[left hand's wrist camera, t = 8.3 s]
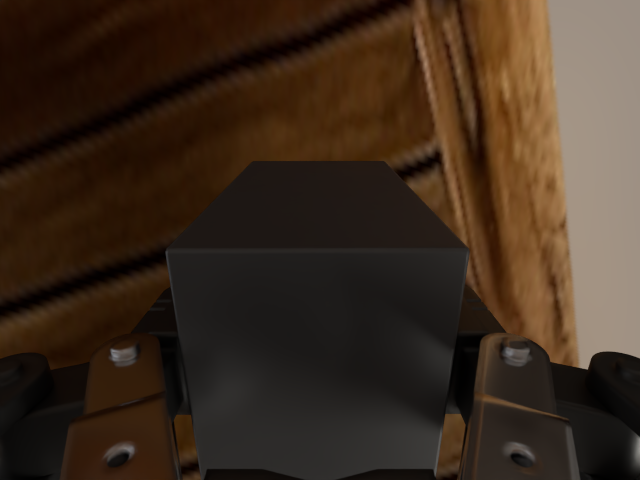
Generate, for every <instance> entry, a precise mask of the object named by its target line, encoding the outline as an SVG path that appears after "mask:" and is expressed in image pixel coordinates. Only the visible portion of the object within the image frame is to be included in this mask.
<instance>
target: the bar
mask: <svg viewBox="0 0 640 480" xmlns="http://www.w3.org/2000/svg"><path fill="white" fill-rule="evenodd" d="M166 259H167V265H168V272H169V278H170V284H171V291H172V297H173V303H174V310H175V316H176V322H177V329H178V335H179V341H180V348H181V354H182V360H183V367H184V373H185V379H186V386H187V392H188V398H189V405H190V411H191V417H192V424H193V430H194V436H195V443H196V449H197V455H198V462H199V468H200V474H201V480H204V477H205V474H206V471H207V469H265V470H269V471H273V472H277V473H280V474H284V475H288V476H292V477H296V478H300V479H304V480H336V479H340V478H344V477H348V476H352V475H356V474H360V473H363V472H367V471H371V470H375V469H433V471H434V474H435V477H436V471H437V464H438V458H439V451H440V444H441V438H442V431H443V424H444V418H445V411H446V405H447V398H448V391H449V385H450V378H451V372H452V365H453V358H454V352H455V345H456V339H457V332H458V325H459V319H460V312H461V305H462V299H463V292H464V286H465V279H466V272H467V266H468V259H469V248H468V247H467V246H466V245H465V244H464V243H463V242H462V241H461V240H460V239H459V238H458V237H457V236H456V235H455V234H454V233H453V232H452V231H451V230H450V229H449V228H448V227H447V226H446V225H445V223H444V222H443V221H442V220H441V219H440V218H439V217H438V216H437V215H436V214H435V213H434V212H433V211H432V210H431V209H430V208H429V207H428V206H427V205H426V204H425V203H424V202H423V201H422V200H421V199H420V198H419V197H418V196H417V195H416V194H415V192H414V191H413V190H412V189H411V188H410V187H409V186H408V185H407V184H406V183H405V182H404V181H403V180H402V179H401V178H400V177H399V176H398V175H397V174H396V173H395V172H394V171H393V170H392V169H391V168H390V167H389V166H388V165H387V164H386V162H384V161H253V162H251V164H250V165H249V166H248V167H247V168H246V169H245V170H244V171H243V172H242V173H241V174H240V175H239V176H238V177H237V178H236V179H235V180H234V181H233V182H232V183H231V184H230V185H229V186H228V187H227V188H226V189H225V190H224V191H223V192H222V193H221V194H220V195H219V196H218V197H217V198H216V199H215V200H214V201H213V202H212V203H211V204H210V205H209V206H208V207H207V208H206V209H205V210H204V211H203V212H202V213H201V214H200V215H199V216H198V217H197V218H196V219H195V220H194V221H193V222H192V223H191V224H190V225H189V227H188V228H187V229H186V230H185V231H184V232H183V233H182V234H181V235H180V236H179V237H178V238H177V239H176V240H175V241H174V242H173V243H172V244H171V245H170V246H169V247H168V248H167V249H166Z"/></svg>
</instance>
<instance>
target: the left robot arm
mask: <svg viewBox="0 0 640 480" xmlns="http://www.w3.org/2000/svg"><path fill="white" fill-rule="evenodd" d="M445 414H461V415H462V417H463V420H464V422H465V424H466V426H465V431H464V438H463V445H462V451H461V458H460V465H459V472H458V479H457V480H640V358H637V357H634V356H631V355H628V354H623V353H618V352H600V353H597V354H595V355H594V356H593V357H592V358H591V361H590V365H589V368H588V370H587V369H582V368H577V367H572V366H567V365H562V364H557V363H552V362H550V358H549V356H548V354H547V352H546V351H545V350H544V349H543V348H542V347H541V346H539V345H538V344H536V343H535V342H533V341H531V340H529V339H527V338H524V337H522V336H519V335H515V334H510V333H506V331H505V330H504V329H503V328H502V326H501V325H500V324H499V322H498V321H497V320H496V319H495V317H494V316H493V315H492V313H491V312H490V311H489V310H487V307H486V306H485V304H484V303H483V302H481V299H480V298H479V297H478V295H477V294H476V293H475V292H474V290H472V289H471V288H469V287H467V286H466V285H465V286H464V292H463V299H462V305H461V312H460V319H459V325H458V332H457V339H456V345H455V352H454V358H453V365H452V372H451V378H450V385H449V391H448V398H447V405H446V411H445ZM176 415H191V411H190V405H189V398H188V392H187V386H186V379H185V373H184V367H183V360H182V354H181V348H180V341H179V335H178V329H177V322H176V316H175V310H174V303H173V297H172V291H171V287H170V288H168V289H166V290H165V291H164V292H163V293H162V294H161V295H160V297H159V298H158V299H157V300H156V303H154V304H153V306H152V307H151V308H150V311H148V312H147V313H146V314H145V316H144V317H143V318H142V320H141V321H140V322H139V323H138V325H137V326H136V327H135V328H134V330H133V331H132V332H131V333H130V334H125V335H121V336H118V337H116V338H113V339H111V340H109V341H107V342H105V343H104V344H102V345H101V346H99V347H98V348H97V349H96V350H95V351H94V352H93V354H92V356H91V358H90V362H88V363H84V364H79V365H74V366H69V367H64V368H59V369H54V370H50V367H49V364H48V361H47V358H46V357H45V356H44V355H42V354H39V353H21V354H15V355H11V356H8V357H5V358H2V359H0V480H183V479H182V472H181V465H180V458H179V451H178V445H177V438H176V431H175V426H174V419H175V416H176ZM204 480H304V479H300V478H296V477H292V476H288V475H284V474H280V473H277V472H273V471H269V470H265V469H207V471H206V474H205V477H204ZM336 480H436V477H435V474H434V471H433V469H375V470H371V471H367V472H363V473H360V474H356V475H352V476H348V477H344V478H340V479H336Z"/></svg>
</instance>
